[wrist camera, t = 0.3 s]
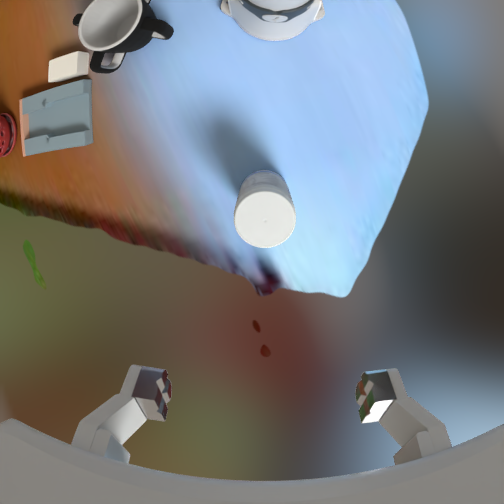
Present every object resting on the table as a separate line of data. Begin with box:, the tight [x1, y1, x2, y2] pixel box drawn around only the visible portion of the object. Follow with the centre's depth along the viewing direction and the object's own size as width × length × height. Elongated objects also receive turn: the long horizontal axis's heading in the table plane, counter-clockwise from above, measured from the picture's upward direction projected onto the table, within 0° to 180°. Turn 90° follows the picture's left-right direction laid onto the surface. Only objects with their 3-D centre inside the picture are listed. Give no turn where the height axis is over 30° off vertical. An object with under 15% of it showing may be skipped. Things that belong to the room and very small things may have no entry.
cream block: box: [48, 51, 89, 82], centre depth 40 cm, size 5×8×4 cm, turn 87°
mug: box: [73, 0, 174, 73], centre depth 34 cm, size 16×16×12 cm
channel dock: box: [20, 79, 93, 156], centre depth 45 cm, size 14×20×3 cm
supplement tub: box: [234, 170, 296, 248], centre depth 49 cm, size 10×10×15 cm
